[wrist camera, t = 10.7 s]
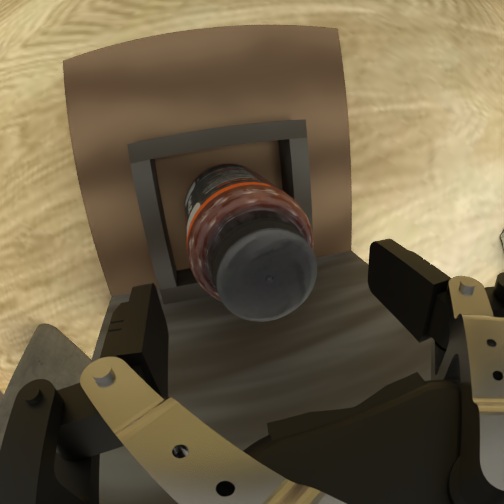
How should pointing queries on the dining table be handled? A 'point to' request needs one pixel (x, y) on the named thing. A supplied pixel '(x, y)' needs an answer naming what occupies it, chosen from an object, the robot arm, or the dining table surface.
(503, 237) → the tea box
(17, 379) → the hip flask
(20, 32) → the dining table surface
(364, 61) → the dining table surface
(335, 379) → the wall board holder
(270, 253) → the supplement bottle
